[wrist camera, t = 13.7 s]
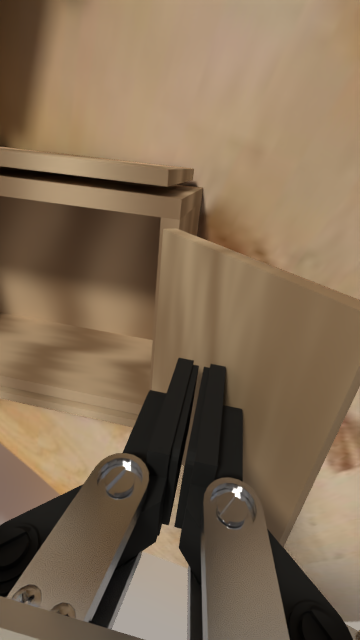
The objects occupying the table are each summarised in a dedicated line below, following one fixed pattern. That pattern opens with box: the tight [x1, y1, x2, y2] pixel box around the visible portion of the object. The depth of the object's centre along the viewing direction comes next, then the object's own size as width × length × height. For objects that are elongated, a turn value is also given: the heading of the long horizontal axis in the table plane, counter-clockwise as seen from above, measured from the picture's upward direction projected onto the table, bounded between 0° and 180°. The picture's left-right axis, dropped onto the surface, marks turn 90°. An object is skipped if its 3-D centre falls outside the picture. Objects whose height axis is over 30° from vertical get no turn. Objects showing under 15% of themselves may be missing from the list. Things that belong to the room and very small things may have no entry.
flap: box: [152, 228, 360, 547], centre depth 11 cm, size 1×10×8 cm
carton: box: [0, 147, 203, 427], centre depth 19 cm, size 17×14×8 cm
